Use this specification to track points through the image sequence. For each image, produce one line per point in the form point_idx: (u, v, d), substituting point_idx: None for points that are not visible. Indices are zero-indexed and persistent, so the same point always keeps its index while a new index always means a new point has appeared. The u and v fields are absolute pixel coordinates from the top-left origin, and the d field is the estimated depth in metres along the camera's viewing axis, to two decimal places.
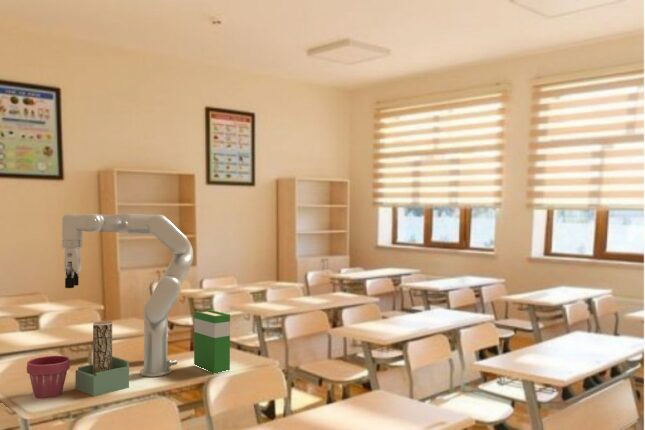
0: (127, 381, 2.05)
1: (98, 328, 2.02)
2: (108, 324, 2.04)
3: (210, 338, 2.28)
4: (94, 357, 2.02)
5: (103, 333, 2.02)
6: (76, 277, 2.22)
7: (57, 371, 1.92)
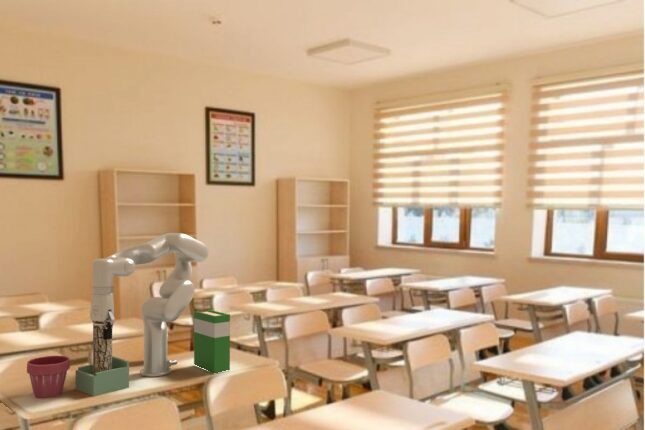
0: (127, 381, 2.05)
1: (98, 328, 2.02)
2: None
3: (210, 338, 2.28)
4: (94, 357, 2.02)
5: None
6: None
7: (57, 371, 1.92)
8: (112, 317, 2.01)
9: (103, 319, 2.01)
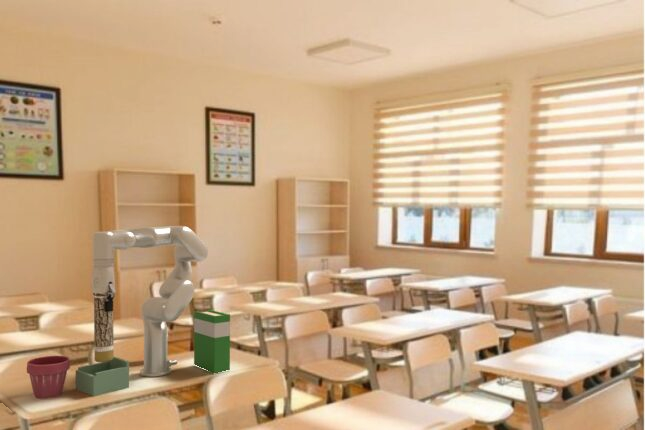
0: (127, 381, 2.05)
1: (99, 301, 2.02)
2: None
3: (210, 338, 2.28)
4: (95, 329, 2.03)
5: None
6: None
7: (57, 371, 1.92)
8: (113, 289, 2.01)
9: (104, 291, 2.01)
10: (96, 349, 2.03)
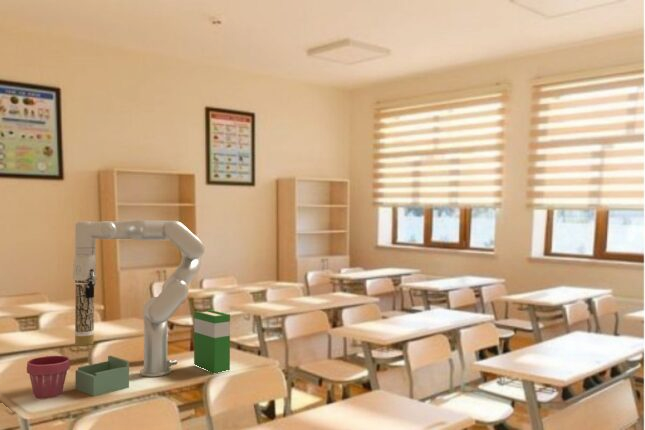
0: (127, 381, 2.05)
1: (80, 287, 2.11)
2: None
3: (210, 338, 2.28)
4: (76, 315, 2.12)
5: (85, 292, 2.12)
6: None
7: (57, 371, 1.92)
8: (94, 276, 2.10)
9: (85, 278, 2.10)
10: (77, 334, 2.11)
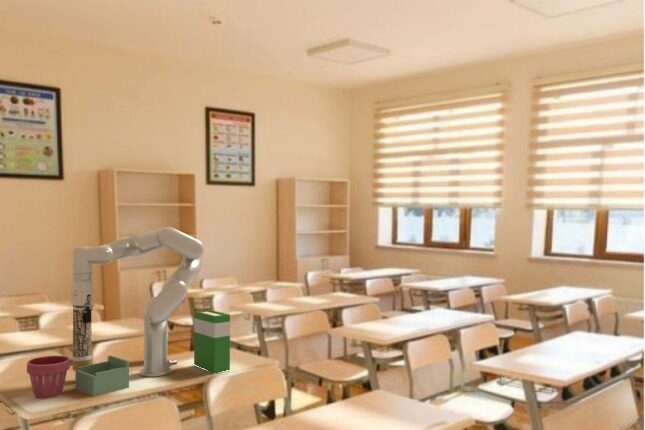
0: (127, 381, 2.05)
1: (77, 312, 2.12)
2: None
3: (210, 338, 2.28)
4: (73, 339, 2.13)
5: (82, 317, 2.12)
6: None
7: (57, 371, 1.92)
8: (91, 301, 2.11)
9: (82, 303, 2.11)
10: (74, 359, 2.12)
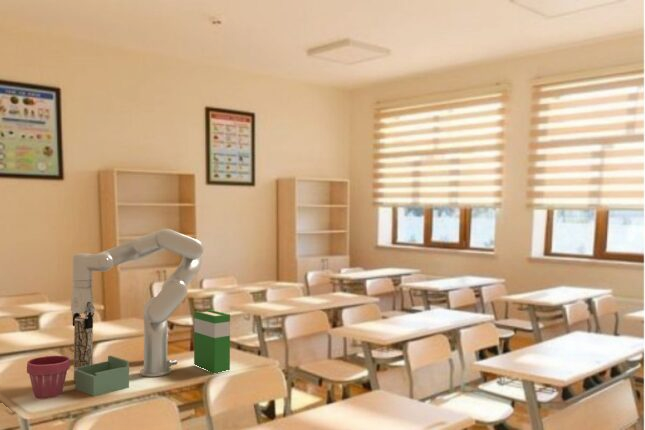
0: (127, 381, 2.05)
1: (79, 323, 2.12)
2: None
3: (210, 338, 2.28)
4: (75, 350, 2.13)
5: None
6: None
7: (57, 371, 1.92)
8: (92, 306, 2.11)
9: (82, 311, 2.11)
10: (75, 370, 2.12)
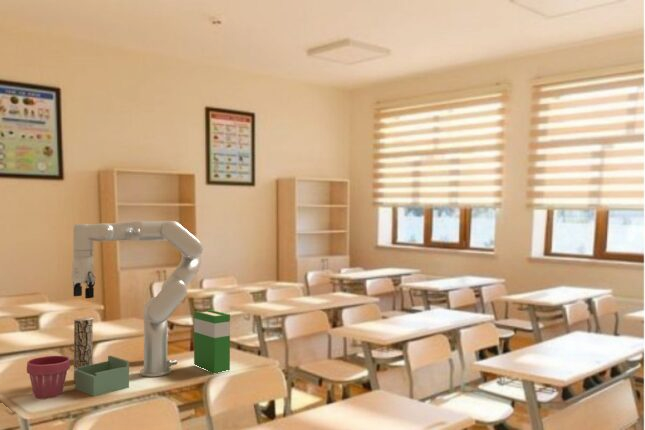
0: (127, 381, 2.05)
1: (79, 323, 2.12)
2: (88, 319, 2.14)
3: (210, 338, 2.28)
4: (75, 350, 2.13)
5: (83, 328, 2.13)
6: None
7: (57, 371, 1.92)
8: (92, 276, 2.11)
9: (83, 280, 2.11)
10: (75, 370, 2.12)
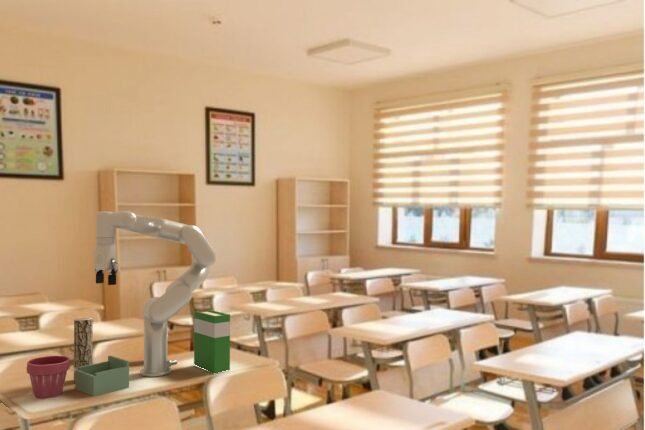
0: (127, 381, 2.05)
1: (78, 323, 2.12)
2: (88, 319, 2.14)
3: (210, 338, 2.28)
4: (75, 350, 2.13)
5: (83, 328, 2.13)
6: None
7: (57, 371, 1.92)
8: (115, 263, 2.13)
9: (106, 267, 2.13)
10: (75, 370, 2.12)
